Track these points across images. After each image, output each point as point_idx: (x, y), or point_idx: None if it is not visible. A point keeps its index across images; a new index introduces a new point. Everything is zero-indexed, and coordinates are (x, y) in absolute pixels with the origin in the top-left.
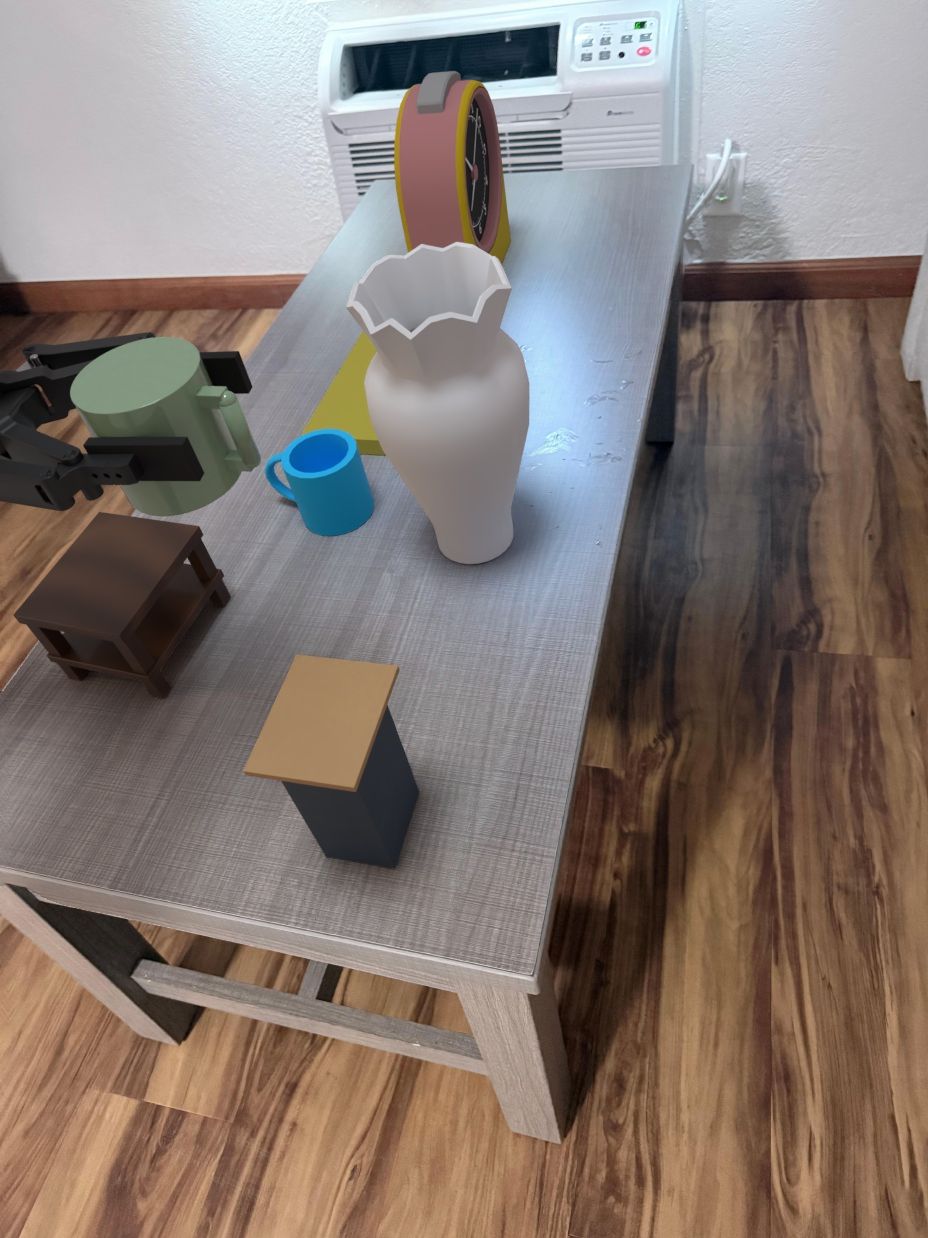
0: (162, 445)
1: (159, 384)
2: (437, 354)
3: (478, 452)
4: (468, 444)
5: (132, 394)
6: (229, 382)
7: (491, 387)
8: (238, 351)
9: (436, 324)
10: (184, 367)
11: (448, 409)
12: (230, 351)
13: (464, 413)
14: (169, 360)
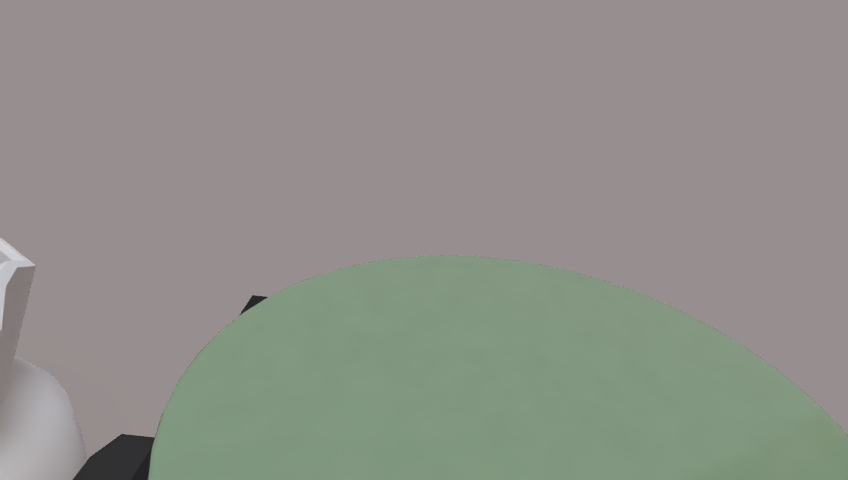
0: None
1: (584, 314)
2: (2, 354)
3: None
4: None
5: (676, 373)
6: None
7: (45, 376)
8: (254, 297)
9: (8, 288)
10: (471, 276)
11: (54, 433)
12: (245, 310)
13: (68, 423)
14: (420, 313)
